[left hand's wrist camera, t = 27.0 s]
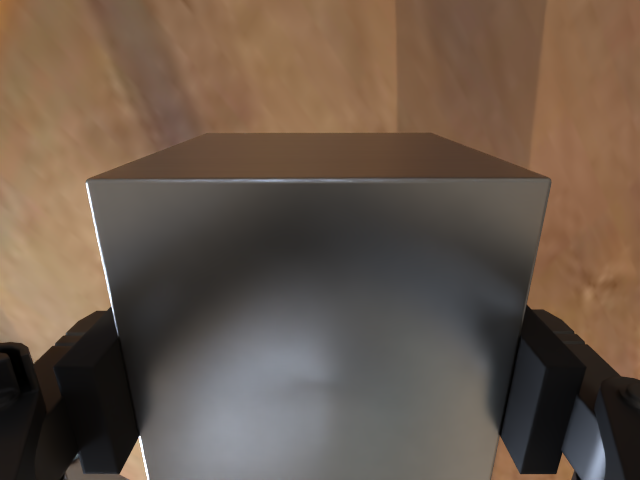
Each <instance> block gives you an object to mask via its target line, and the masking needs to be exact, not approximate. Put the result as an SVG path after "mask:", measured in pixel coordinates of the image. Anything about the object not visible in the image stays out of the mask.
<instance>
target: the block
mask: <svg viewBox="0 0 640 480" xmlns="http://www.w3.org/2000/svg"><path fill="white" fill-rule="evenodd" d="M86 187H87V192H88V197H89V201H90V206H91V211H92V216H93V220H94V225H95V230H96V235H97V239H98V244H99V249H100V254H101V258H102V263H103V268H104V273H105V277H106V282H107V287H108V292H109V296H110V301H111V306H112V311H113V315H114V320H115V325H116V330H117V334H118V339H119V344H120V349H121V353H122V358H123V363H124V368H125V373H126V377H127V382H128V387H129V392H130V396H131V401H132V406H133V411H134V415H135V420H136V425H137V430H138V434H139V439H140V444H141V449H142V453H143V458H144V463H145V468H146V472H147V477H148V480H491V475H492V470H493V465H494V461H495V456H496V451H497V446H498V441H499V436H500V431H501V426H502V421H503V417H504V412H505V407H506V402H507V397H508V392H509V387H510V382H511V377H512V373H513V368H514V363H515V358H516V353H517V348H518V343H519V338H520V333H521V329H522V324H523V319H524V314H525V309H526V304H527V299H528V294H529V290H530V285H531V280H532V275H533V270H534V265H535V260H536V255H537V250H538V246H539V241H540V236H541V231H542V226H543V221H544V216H545V211H546V206H547V202H548V197H549V192H550V187H551V179H550V178H548V177H546V176H543V175H541V174H538V173H535V172H533V171H530V170H527V169H525V168H522V167H519V166H517V165H514V164H512V163H509V162H506V161H504V160H501V159H498V158H496V157H493V156H490V155H488V154H485V153H483V152H480V151H477V150H475V149H472V148H469V147H467V146H464V145H462V144H459V143H456V142H454V141H451V140H448V139H446V138H443V137H440V136H438V135H435V134H433V133H206V134H203V135H201V136H198V137H196V138H193V139H190V140H188V141H185V142H183V143H180V144H177V145H175V146H172V147H169V148H167V149H164V150H162V151H159V152H156V153H154V154H151V155H149V156H146V157H143V158H141V159H138V160H135V161H133V162H130V163H128V164H125V165H122V166H120V167H117V168H115V169H112V170H109V171H107V172H104V173H101V174H99V175H96V176H94V177H91V178H89V179H87V180H86Z"/></svg>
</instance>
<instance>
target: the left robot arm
mask: <svg viewBox="0 0 640 480" xmlns="http://www.w3.org/2000/svg"><path fill="white" fill-rule="evenodd" d="M500 436H501V438H502V440H503V442H504V444H505V446H506V448H507V450H508V452H509V453H510V455H511V457H512V459H513V461H514V463H515V465H516V467H517V469H518V471H519V473H520V474H556V473H557V470H558V466H559V463H560V459H561V456H562V452H563V454H564V455H565V457H566V458H567V460H568V461H569V462H570V464H571V465H572V467H573V468H574V473H573V476H572V480H640V380H638V379H635V378H628V377H621V376H620V375H619V374H618V373H617V372H616V371H615V370H614V369H613V368H612V367H611V366H610V365H609V364H607V363H606V362H605V361H604V360H603V359H602V358H601V357H600V356H599V355H598V354H597V353H596V352H595V351H594V350H593V349H592V348H591V347H590V346H589V345H588V344H585V342H584V341H583V340H582V339H581V338H580V337H579V336H578V335H577V334H574V331H573V330H572V329H571V328H570V327H569V326H568V325H567V324H565V323H564V322H563V321H562V320H561V319H559V318H557V317H556V316H554V315H552V314H550V313H548V312H547V311H545V310H531V309H530V308H529V306H528V305H527V304H526V309H525V314H524V319H523V324H522V329H521V333H520V338H519V343H518V348H517V353H516V358H515V363H514V368H513V373H512V377H511V382H510V387H509V392H508V397H507V402H506V407H505V412H504V417H503V421H502V426H501V431H500ZM138 438H139V434H138V430H137V425H136V420H135V415H134V411H133V406H132V401H131V396H130V392H129V387H128V382H127V377H126V373H125V368H124V363H123V358H122V353H121V349H120V344H119V339H118V334H117V330H116V325H115V320H114V315H113V311H112V306H111V307H110V308H109V309H108V310H107V311H96V312H94V313H92V314H90V315H89V316H87V317H85V318H83V319H81V320H80V321H78V322H77V323H76V324H75V325H74V326H73V327H72V328H71V329H70V330H69V331H68V332H67V333H66V336H62V337H61V338H60V339H59V340H58V341H57V342H56V343H55V346H52V347H51V348H50V349H49V350H48V351H47V352H46V353H45V354H44V355H43V356H42V357H41V358H40V359H38V360H37V361H36V362H35V363H34V364H33V362H32V359H31V355H30V352H29V349H28V347H27V346H25V345H23V344H22V343H13V342H7V343H0V480H129V479H127V478H125V477H123V476H121V475H119V474H120V472H121V470H122V468H123V466H124V464H125V462H126V461H127V459H128V457H129V455H130V453H131V451H132V449H133V447H134V445H135V443H136V441H137V439H138Z"/></svg>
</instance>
